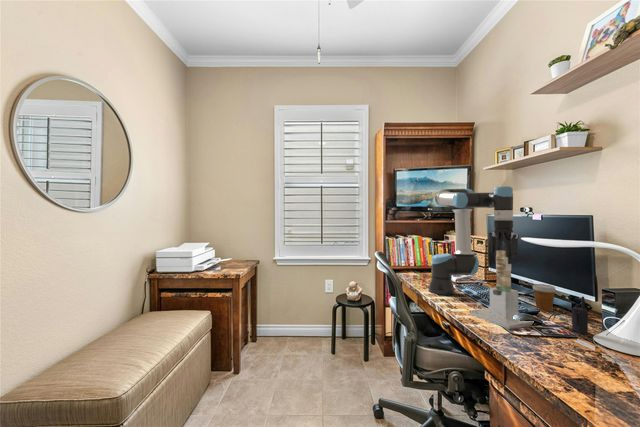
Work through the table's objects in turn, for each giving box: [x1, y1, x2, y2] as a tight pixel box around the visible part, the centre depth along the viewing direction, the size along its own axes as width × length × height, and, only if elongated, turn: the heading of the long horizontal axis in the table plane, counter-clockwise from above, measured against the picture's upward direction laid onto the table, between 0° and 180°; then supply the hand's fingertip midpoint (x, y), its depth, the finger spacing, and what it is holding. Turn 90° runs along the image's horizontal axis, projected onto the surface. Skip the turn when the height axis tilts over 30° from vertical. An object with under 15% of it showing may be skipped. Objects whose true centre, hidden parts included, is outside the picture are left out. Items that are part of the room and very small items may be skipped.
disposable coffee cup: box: [532, 283, 557, 312], centre depth 147 cm, size 10×10×12 cm
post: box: [495, 249, 512, 291], centre depth 135 cm, size 4×4×24 cm
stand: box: [469, 286, 541, 330], centre depth 135 cm, size 20×20×14 cm
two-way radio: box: [571, 296, 589, 335], centre depth 119 cm, size 6×4×15 cm
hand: (503, 269), depth 135 cm, fingers closed on post, 4 cm apart
